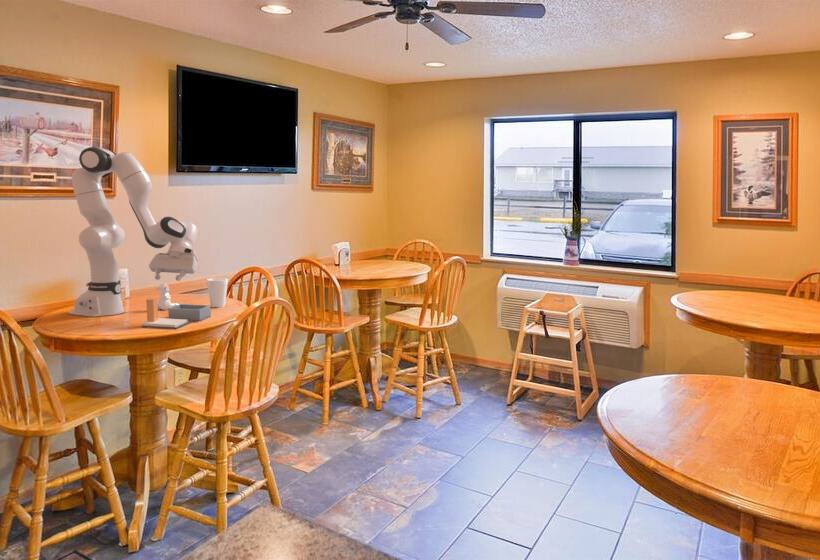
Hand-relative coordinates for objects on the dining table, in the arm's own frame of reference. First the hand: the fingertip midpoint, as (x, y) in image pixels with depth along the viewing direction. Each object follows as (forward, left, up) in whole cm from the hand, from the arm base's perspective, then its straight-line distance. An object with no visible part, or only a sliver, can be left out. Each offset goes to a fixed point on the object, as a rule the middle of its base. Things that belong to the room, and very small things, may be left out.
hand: (167, 279), depth 253 cm
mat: (+6, -12, -17) cm, 21 cm away
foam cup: (+9, +29, -17) cm, 35 cm away
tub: (+9, +2, -17) cm, 19 cm away
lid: (+5, -12, -16) cm, 21 cm away
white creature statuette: (-11, +18, -17) cm, 27 cm away
